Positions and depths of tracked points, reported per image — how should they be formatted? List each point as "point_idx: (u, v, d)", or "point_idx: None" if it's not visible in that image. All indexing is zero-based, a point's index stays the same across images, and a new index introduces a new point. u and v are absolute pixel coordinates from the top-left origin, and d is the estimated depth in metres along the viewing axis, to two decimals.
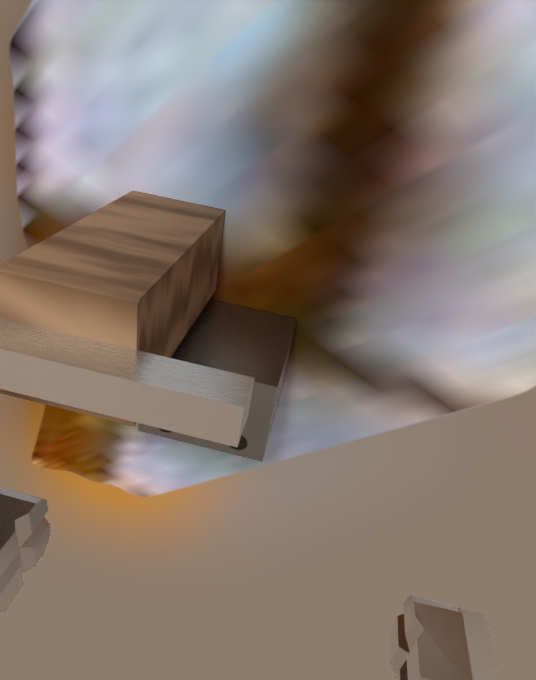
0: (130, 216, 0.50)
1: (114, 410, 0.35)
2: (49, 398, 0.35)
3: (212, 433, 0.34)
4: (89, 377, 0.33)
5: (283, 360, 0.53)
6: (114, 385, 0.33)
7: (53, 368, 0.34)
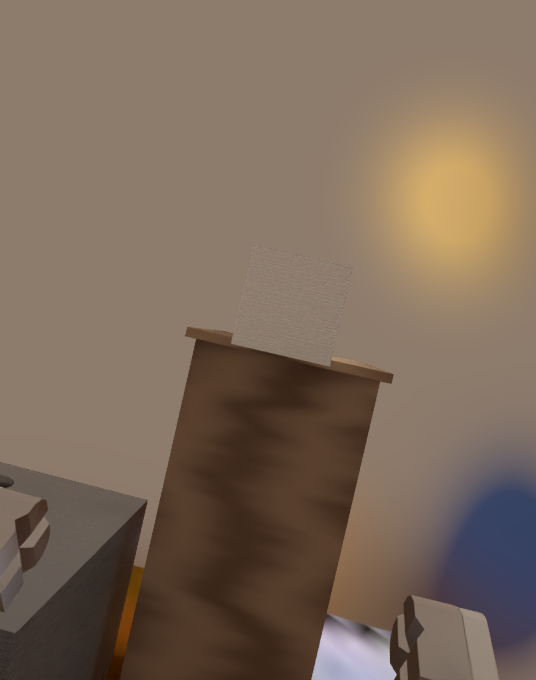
0: None
1: None
2: None
3: None
4: None
5: None
6: None
7: None
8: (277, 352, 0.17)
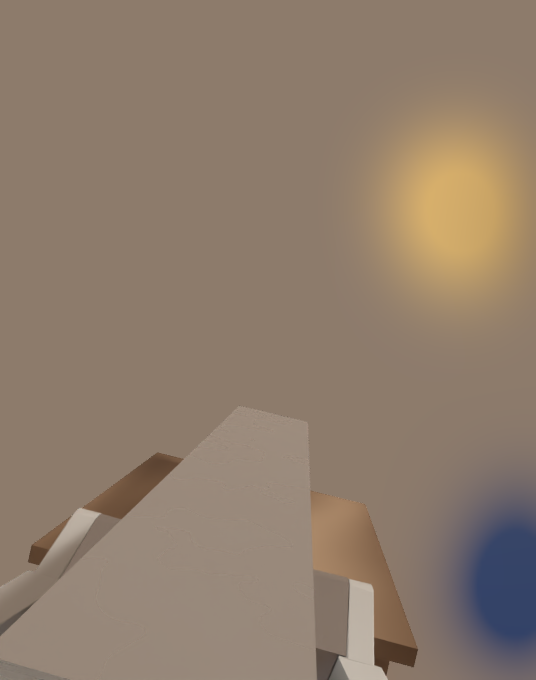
0: None
1: (207, 461, 0.14)
2: (223, 429, 0.19)
3: (114, 584, 0.07)
4: (291, 465, 0.15)
5: None
6: (282, 480, 0.14)
7: (293, 448, 0.18)
8: None
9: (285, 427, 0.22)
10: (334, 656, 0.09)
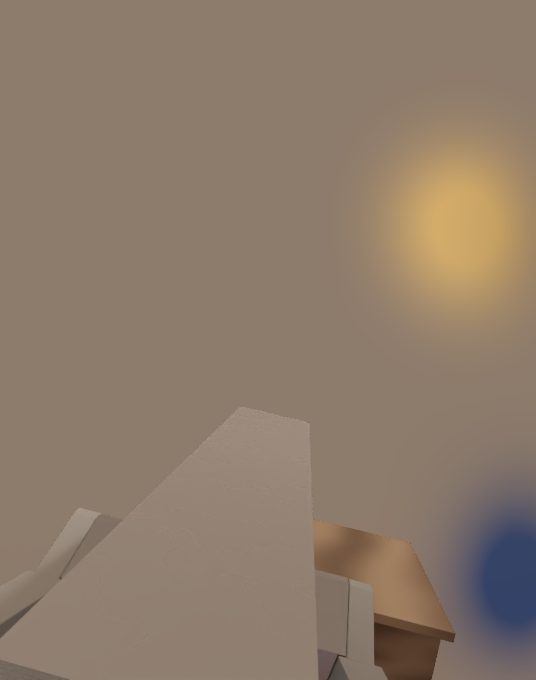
0: None
1: (209, 462, 0.14)
2: (224, 429, 0.19)
3: (116, 585, 0.07)
4: (292, 466, 0.15)
5: None
6: (284, 480, 0.14)
7: (294, 448, 0.18)
8: None
9: (286, 427, 0.22)
10: (334, 656, 0.09)
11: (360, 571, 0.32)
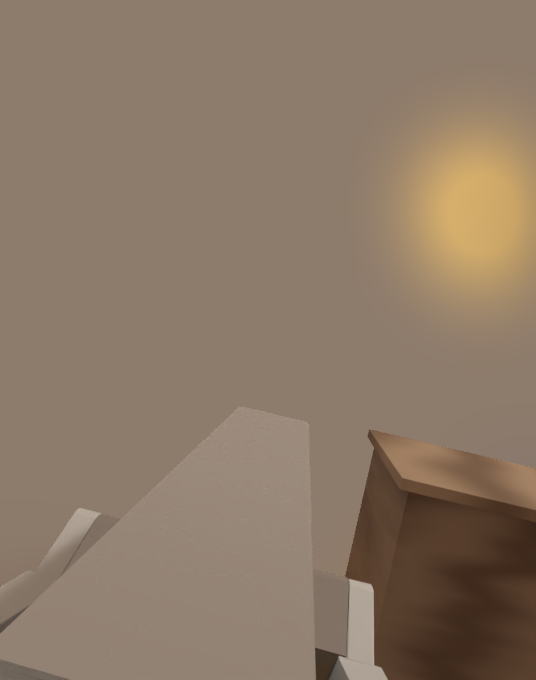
0: None
1: (208, 461, 0.14)
2: (224, 428, 0.19)
3: (113, 584, 0.07)
4: (291, 465, 0.15)
5: None
6: (283, 480, 0.14)
7: (293, 448, 0.18)
8: None
9: (286, 427, 0.22)
10: (334, 656, 0.09)
11: (506, 482, 0.26)
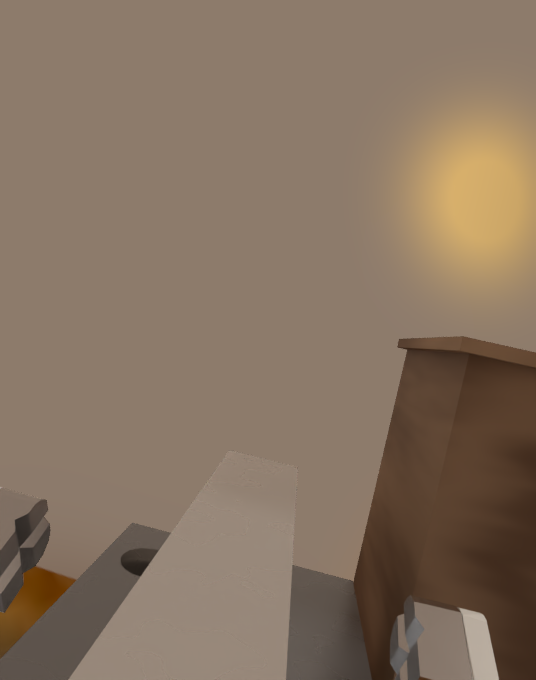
0: None
1: (189, 542, 0.14)
2: (209, 488, 0.19)
3: None
4: (275, 538, 0.15)
5: None
6: (265, 562, 0.14)
7: (279, 510, 0.18)
8: None
9: (274, 478, 0.22)
10: None
11: None
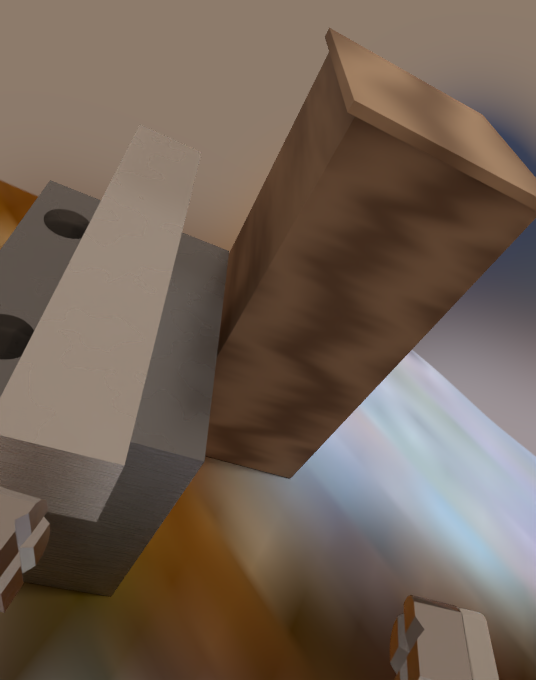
0: None
1: (99, 242, 0.19)
2: (117, 180, 0.22)
3: (37, 383, 0.14)
4: (165, 240, 0.21)
5: None
6: (153, 263, 0.19)
7: (174, 209, 0.23)
8: None
9: (176, 167, 0.25)
10: None
11: (452, 125, 0.25)
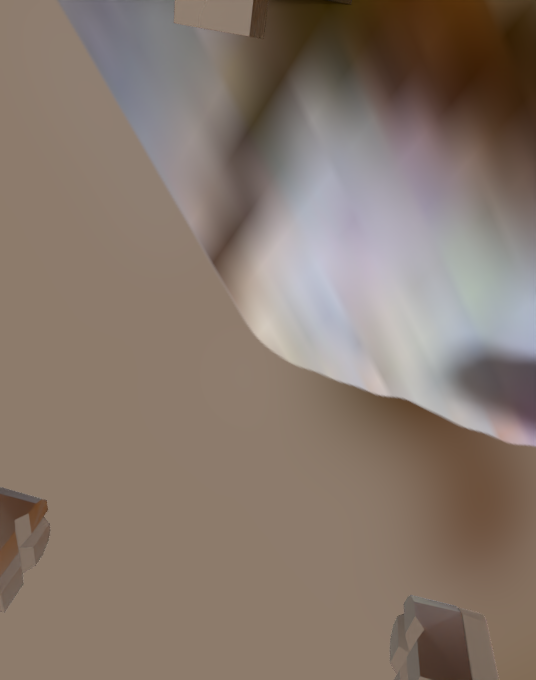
0: None
1: None
2: None
3: None
4: None
5: None
6: None
7: None
8: None
9: None
10: None
11: None
